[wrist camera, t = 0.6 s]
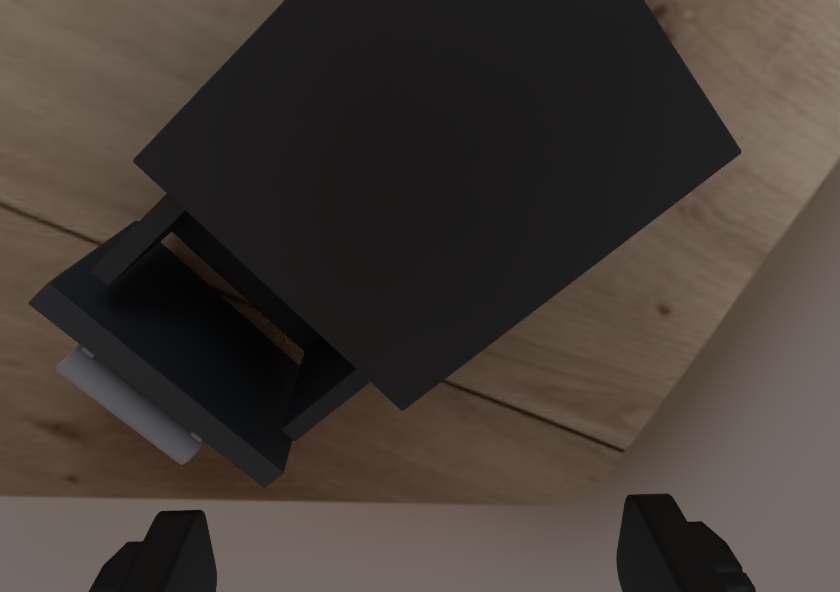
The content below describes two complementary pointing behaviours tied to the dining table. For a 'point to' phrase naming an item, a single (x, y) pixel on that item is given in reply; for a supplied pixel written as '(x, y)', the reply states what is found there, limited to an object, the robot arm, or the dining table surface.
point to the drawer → (191, 348)
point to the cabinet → (436, 164)
